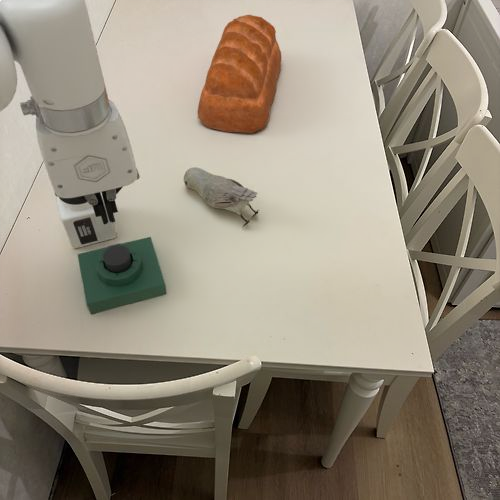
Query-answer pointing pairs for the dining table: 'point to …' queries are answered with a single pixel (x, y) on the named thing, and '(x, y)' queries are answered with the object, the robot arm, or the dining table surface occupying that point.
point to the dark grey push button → (117, 258)
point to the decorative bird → (220, 191)
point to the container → (83, 222)
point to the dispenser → (121, 277)
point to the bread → (241, 77)
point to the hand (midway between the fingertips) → (107, 215)
